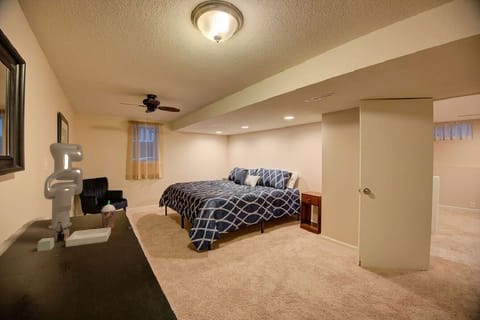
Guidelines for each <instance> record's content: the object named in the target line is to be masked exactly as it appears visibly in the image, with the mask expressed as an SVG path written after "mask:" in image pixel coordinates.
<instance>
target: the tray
mask: <svg viewBox="0 0 480 320" xmlns="http://www.w3.org/2000/svg"><path fill="white" fill-rule="evenodd" d="M111 233H112V230H111V228H102V227H101V228H95V229H93V228H92V229H85V230H75V231H74V232H72V234H70V235H69V238H68V239H67V240H65V247H67V248H68V247H74V246H82V245H90V244H98V243H104V242H107V241H108V240H109V237H110V235H111Z"/></svg>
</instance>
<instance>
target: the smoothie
mask: <svg viewBox="0 0 480 320" xmlns="http://www.w3.org/2000/svg"><path fill="white" fill-rule="evenodd" d="M107 202H108V203H107V205H104V206H103V207H102V209H101V224H102V225H101V226H102V227H101V228H111V231H112V230H114V228H115V219H116V213H117V212H116V210H117V208H115V206H114V205H113V204H110V200H108V201H107Z"/></svg>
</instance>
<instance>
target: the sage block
mask: <svg viewBox="0 0 480 320" xmlns="http://www.w3.org/2000/svg"><path fill="white" fill-rule="evenodd" d="M54 247H55V236H54V237H47V238H46V237H45V238H41V239H40V240H39V241H37V252H45V251H51V250H52V249H53V248H54Z"/></svg>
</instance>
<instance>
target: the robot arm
mask: <svg viewBox="0 0 480 320" xmlns="http://www.w3.org/2000/svg"><path fill="white" fill-rule="evenodd" d="M49 152H50V154H51V157H52V159H53V162H54V164H53V165H54V167H53V169H54V170H53V172H52V173H51V174H50V175H49V176H47V178H46V180H45V182H44V185H43V187H44V188H43V198H44V199H46V200H51V201H52V202H51V224H49V225H48V229H51V230H56V232H57V241H56V242H62V240H64V230H67V229H69V228H68V227H71V226H72V225H73V223H72V222H70V221H71V220H70V218H71V212H70V211H72V199H73V196H75V195H80V194H81V193H82V191H83V188H84V186H83V183H84V182H83V180H84V179H83V174H84V173H83V170H82V168H81V167H78V166H76V167H75V166H72V165H73V163H74V162H77V163H78V162H79V163H80V162H82V161H83V159H84V151H83V147H82V145H81V144H78V143H65V142H64V143H63V142H54V143H51V144H50V145H49ZM54 180H56V181H58V182H54V183H53V184H52V185H51V183H52V182H53V181H54ZM59 181H60V182H59ZM62 181H63V182H62ZM64 241H65V240H64Z"/></svg>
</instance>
